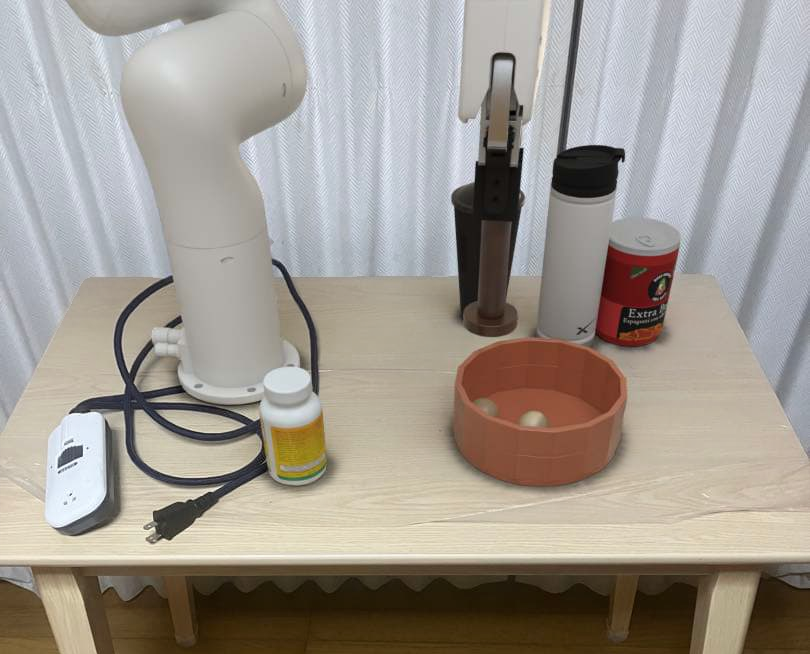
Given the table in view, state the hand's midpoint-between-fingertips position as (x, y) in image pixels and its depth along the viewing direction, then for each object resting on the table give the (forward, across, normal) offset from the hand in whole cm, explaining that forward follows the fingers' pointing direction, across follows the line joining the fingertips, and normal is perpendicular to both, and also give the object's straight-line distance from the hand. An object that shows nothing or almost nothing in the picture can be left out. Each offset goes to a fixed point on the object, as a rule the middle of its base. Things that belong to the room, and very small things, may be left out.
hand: (496, 208), depth 64 cm
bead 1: (+21, -3, 0) cm, 21 cm away
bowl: (+23, -3, +5) cm, 24 cm away
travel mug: (+23, -21, +8) cm, 32 cm away
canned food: (+23, -24, +14) cm, 36 cm away
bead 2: (+21, -2, +5) cm, 21 cm away
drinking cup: (+23, -25, -2) cm, 34 cm away
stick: (+9, 0, 0) cm, 9 cm away
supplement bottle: (+23, +4, -16) cm, 29 cm away
